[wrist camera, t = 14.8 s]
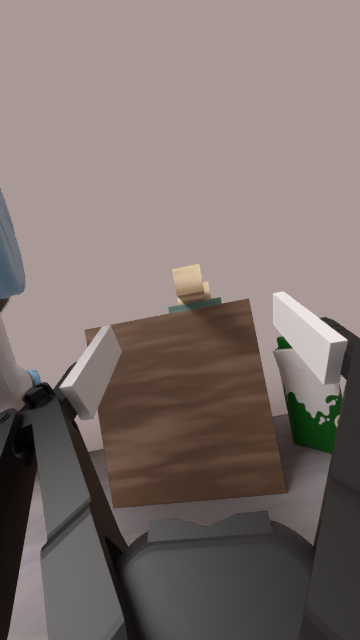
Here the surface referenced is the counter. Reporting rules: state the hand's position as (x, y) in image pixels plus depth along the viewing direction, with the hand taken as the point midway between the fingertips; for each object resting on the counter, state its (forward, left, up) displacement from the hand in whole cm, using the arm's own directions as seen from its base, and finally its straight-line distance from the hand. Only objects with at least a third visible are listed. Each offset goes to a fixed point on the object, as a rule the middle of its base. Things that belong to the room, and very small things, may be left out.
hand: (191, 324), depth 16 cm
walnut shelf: (-15, +16, -26) cm, 34 cm away
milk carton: (+4, +31, -26) cm, 41 cm away
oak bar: (-8, +14, +3) cm, 16 cm away
